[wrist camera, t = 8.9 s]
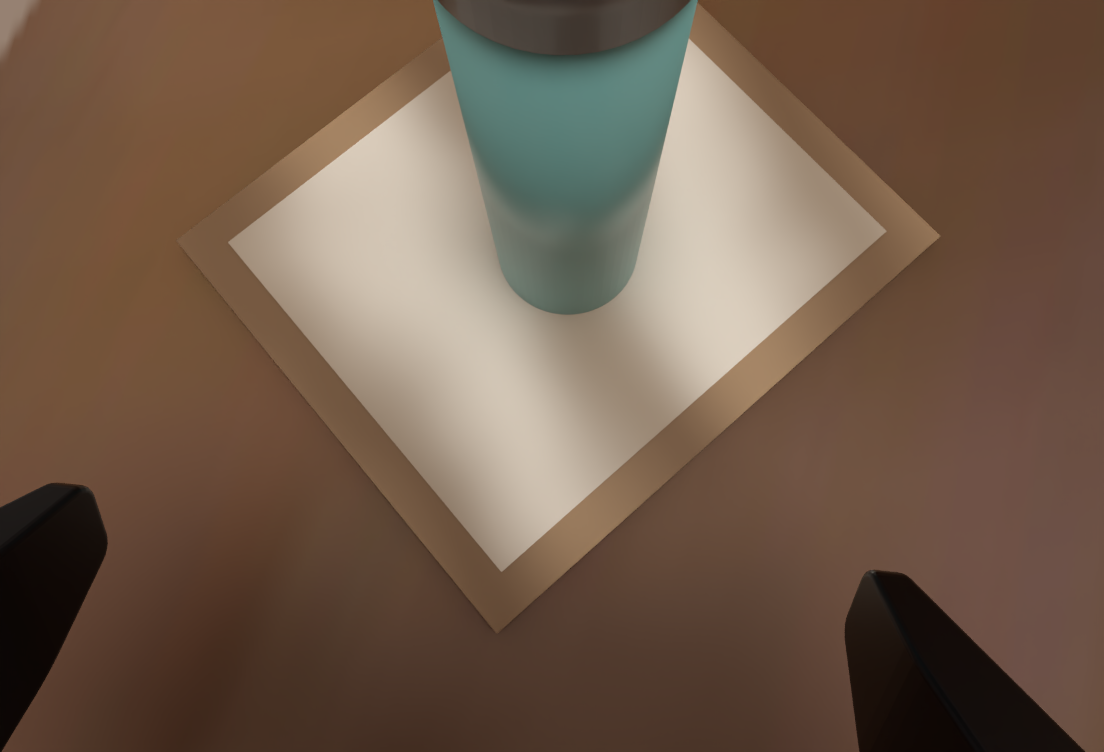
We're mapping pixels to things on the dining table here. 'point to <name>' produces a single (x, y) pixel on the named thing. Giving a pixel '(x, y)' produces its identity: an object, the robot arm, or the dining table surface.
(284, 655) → the dining table surface
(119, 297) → the dining table surface
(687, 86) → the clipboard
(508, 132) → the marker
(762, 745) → the dining table surface
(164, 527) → the dining table surface
